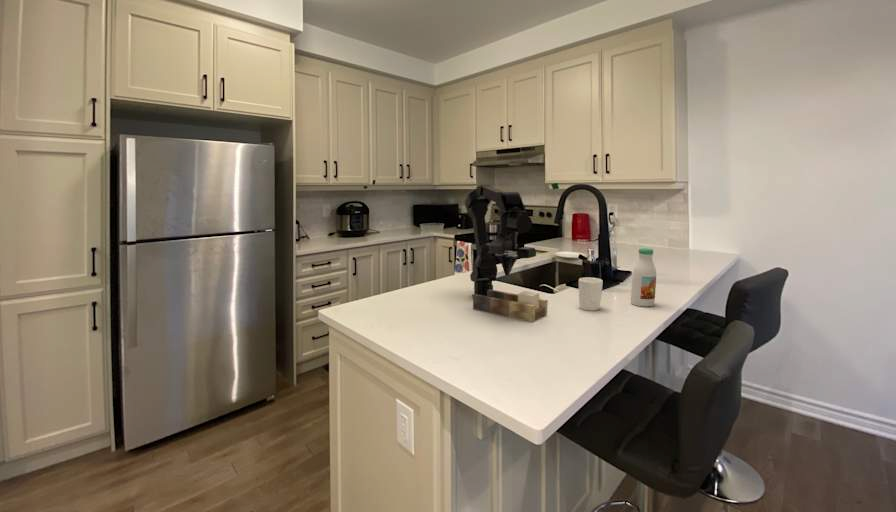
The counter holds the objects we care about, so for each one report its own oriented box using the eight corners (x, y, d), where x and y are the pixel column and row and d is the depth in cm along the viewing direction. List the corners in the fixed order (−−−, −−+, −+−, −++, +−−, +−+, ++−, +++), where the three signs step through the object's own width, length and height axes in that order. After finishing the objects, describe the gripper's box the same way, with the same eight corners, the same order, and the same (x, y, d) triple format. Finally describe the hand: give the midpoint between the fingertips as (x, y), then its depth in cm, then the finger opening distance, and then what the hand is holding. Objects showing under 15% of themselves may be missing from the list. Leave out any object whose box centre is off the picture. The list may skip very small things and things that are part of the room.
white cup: (598, 305, 150) (599, 277, 148) (604, 311, 142) (605, 282, 140) (575, 304, 150) (576, 277, 149) (580, 311, 143) (581, 282, 141)
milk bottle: (630, 306, 148) (634, 249, 145) (630, 300, 155) (633, 246, 152) (655, 308, 145) (659, 251, 142) (653, 302, 152) (657, 247, 149)
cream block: (517, 308, 137) (518, 293, 136) (525, 305, 141) (525, 290, 140) (531, 311, 134) (531, 296, 133) (538, 307, 138) (539, 293, 137)
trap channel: (473, 308, 146) (473, 294, 145) (489, 302, 154) (489, 289, 153) (532, 321, 131) (532, 306, 131) (547, 314, 139) (547, 299, 138)
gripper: (471, 229, 141) (471, 275, 143) (520, 234, 129) (518, 283, 131) (490, 227, 149) (489, 270, 152) (537, 230, 137) (536, 277, 140)
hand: (507, 275), depth 143 cm, fingers closed
